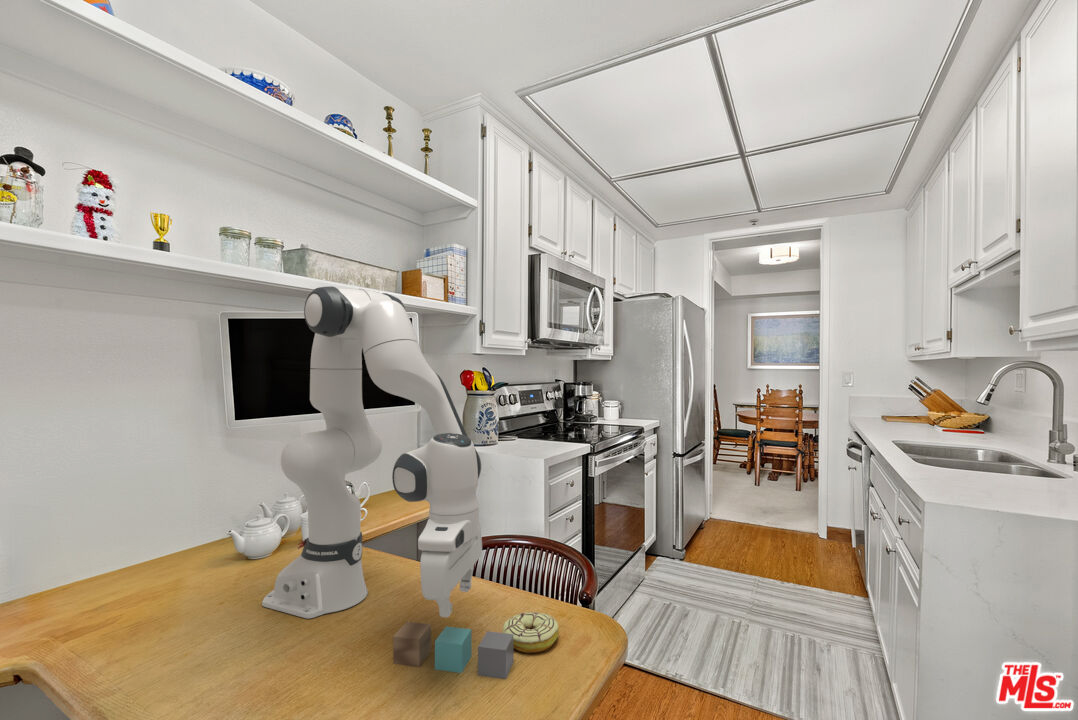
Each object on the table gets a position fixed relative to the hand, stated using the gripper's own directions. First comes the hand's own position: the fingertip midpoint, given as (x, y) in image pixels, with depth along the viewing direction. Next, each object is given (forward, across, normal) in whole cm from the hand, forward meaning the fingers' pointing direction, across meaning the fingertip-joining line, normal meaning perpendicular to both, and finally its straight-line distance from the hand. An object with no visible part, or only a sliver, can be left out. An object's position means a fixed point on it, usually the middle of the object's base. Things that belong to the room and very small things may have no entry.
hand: (456, 602), depth 87 cm
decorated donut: (+12, -10, +11) cm, 19 cm away
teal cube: (+11, 0, -1) cm, 11 cm away
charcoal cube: (+11, 0, +7) cm, 13 cm away
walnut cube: (+11, 0, -9) cm, 14 cm away
